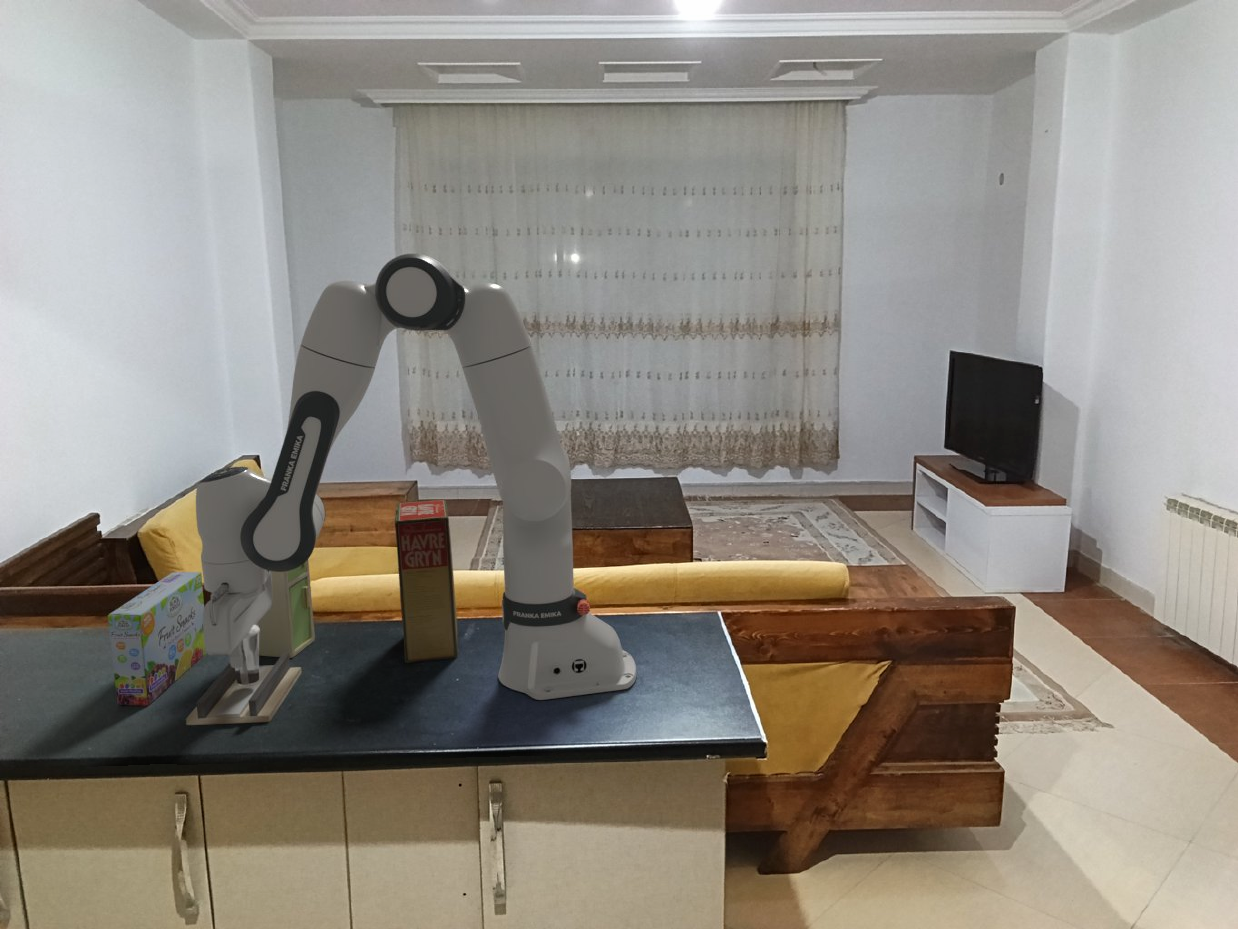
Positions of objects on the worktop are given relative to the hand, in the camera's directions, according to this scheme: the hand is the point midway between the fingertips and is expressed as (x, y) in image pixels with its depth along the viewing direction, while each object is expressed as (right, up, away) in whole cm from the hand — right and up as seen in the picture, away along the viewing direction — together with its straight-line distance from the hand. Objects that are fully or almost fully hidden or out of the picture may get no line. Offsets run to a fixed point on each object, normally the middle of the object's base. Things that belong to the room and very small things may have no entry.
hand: (244, 658), depth 142 cm
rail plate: (0, -6, +1) cm, 7 cm away
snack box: (-17, -5, +9) cm, 20 cm away
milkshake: (0, -4, +1) cm, 4 cm away
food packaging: (+25, -2, +20) cm, 32 cm away
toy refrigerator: (0, -3, +20) cm, 20 cm away
